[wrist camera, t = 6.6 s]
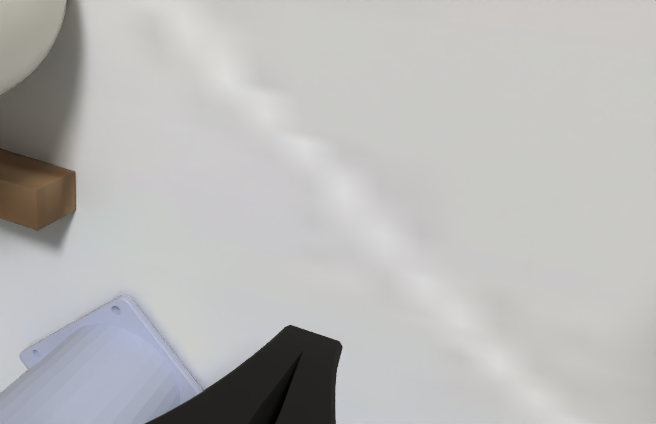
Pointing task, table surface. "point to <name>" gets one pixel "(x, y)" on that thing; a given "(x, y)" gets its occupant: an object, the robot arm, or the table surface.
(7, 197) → the yoke
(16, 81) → the lidded jar
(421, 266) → the table surface
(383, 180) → the table surface
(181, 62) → the table surface
